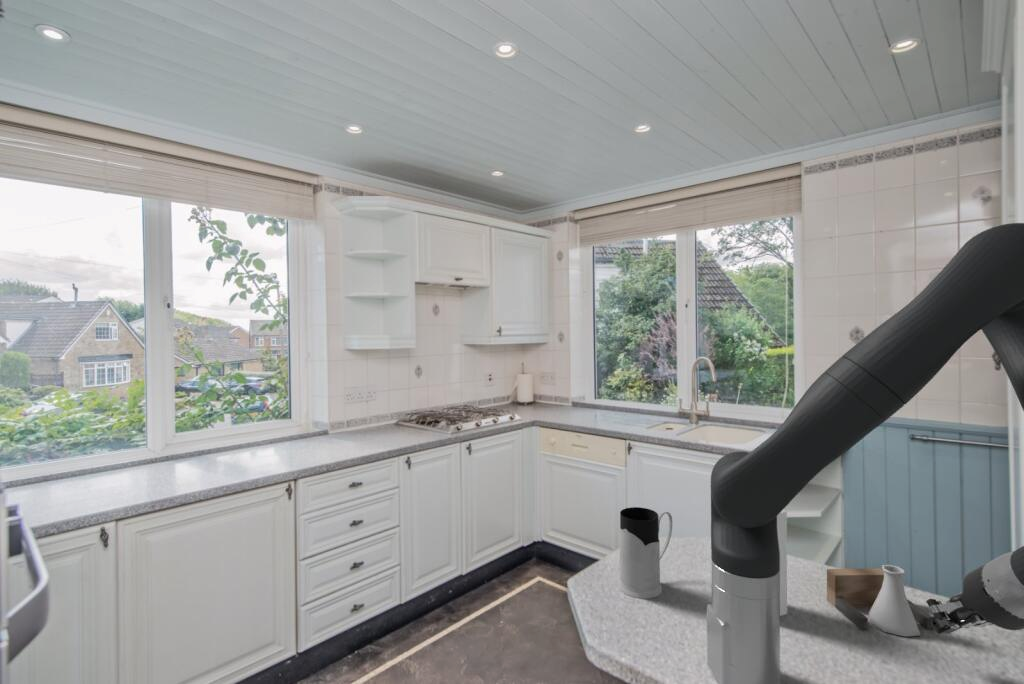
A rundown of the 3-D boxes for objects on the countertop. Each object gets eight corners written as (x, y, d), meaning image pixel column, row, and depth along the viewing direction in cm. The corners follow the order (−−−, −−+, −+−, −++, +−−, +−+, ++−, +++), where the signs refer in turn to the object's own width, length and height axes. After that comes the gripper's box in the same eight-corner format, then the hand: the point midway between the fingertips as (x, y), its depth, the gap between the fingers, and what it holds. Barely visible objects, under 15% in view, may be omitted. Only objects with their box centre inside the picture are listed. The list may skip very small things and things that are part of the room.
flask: (929, 640, 83) (930, 581, 83) (880, 635, 85) (880, 577, 84) (906, 616, 90) (906, 561, 90) (860, 611, 92) (860, 557, 91)
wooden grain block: (860, 629, 86) (860, 595, 86) (826, 599, 96) (826, 568, 95) (933, 629, 86) (934, 594, 86) (892, 599, 95) (892, 568, 95)
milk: (736, 605, 95) (734, 489, 94) (760, 598, 97) (759, 484, 96) (763, 622, 89) (761, 498, 88) (788, 614, 91) (786, 494, 91)
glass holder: (608, 584, 103) (607, 512, 102) (655, 565, 111) (654, 498, 110) (641, 603, 96) (640, 525, 95) (689, 581, 103) (688, 509, 103)
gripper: (1048, 558, 67) (966, 599, 80) (949, 560, 68) (882, 600, 80) (1093, 620, 62) (997, 653, 75) (986, 621, 62) (908, 654, 75)
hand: (938, 626), depth 77 cm, fingers closed
